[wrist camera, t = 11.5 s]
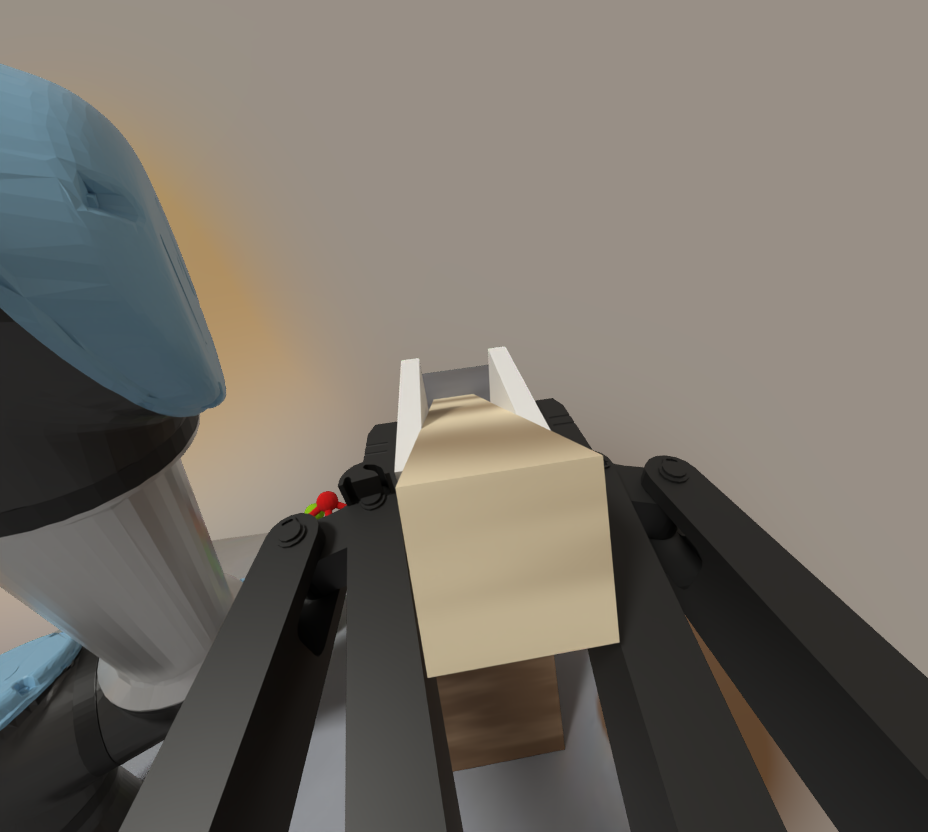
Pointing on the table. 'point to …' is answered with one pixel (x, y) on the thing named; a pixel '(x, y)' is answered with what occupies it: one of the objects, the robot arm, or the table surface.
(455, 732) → the stand
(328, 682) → the table surface
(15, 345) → the robot arm
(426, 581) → the mallet
